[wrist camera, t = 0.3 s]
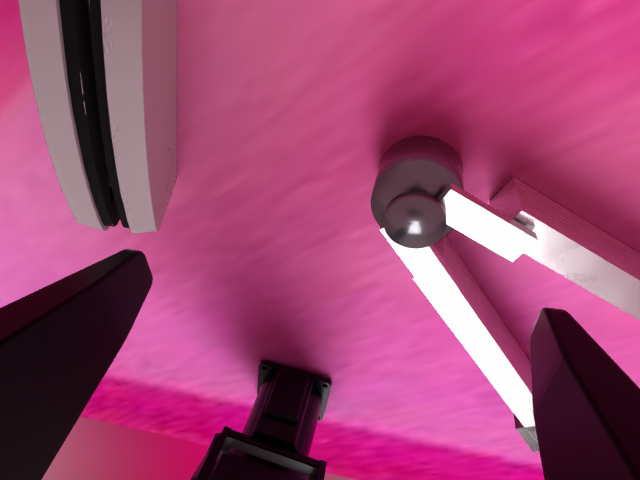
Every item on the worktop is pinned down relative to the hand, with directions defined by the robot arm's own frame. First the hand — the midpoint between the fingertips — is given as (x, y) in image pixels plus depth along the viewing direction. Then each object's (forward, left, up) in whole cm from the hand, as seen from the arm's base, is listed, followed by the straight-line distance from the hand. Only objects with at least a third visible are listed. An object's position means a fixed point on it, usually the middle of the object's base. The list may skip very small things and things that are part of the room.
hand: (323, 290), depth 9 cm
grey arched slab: (0, +12, -15) cm, 19 cm away
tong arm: (-6, -14, -14) cm, 21 cm away
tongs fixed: (-12, -9, -14) cm, 21 cm away
